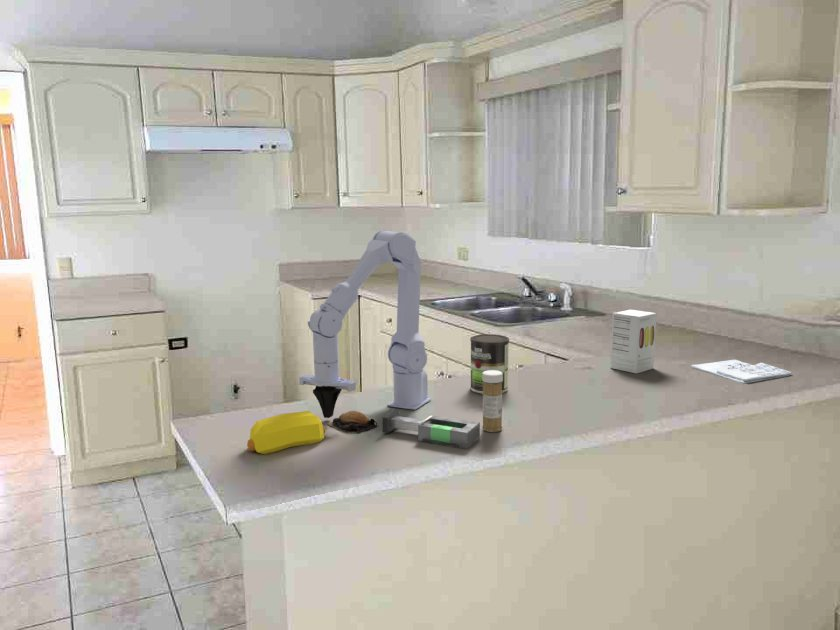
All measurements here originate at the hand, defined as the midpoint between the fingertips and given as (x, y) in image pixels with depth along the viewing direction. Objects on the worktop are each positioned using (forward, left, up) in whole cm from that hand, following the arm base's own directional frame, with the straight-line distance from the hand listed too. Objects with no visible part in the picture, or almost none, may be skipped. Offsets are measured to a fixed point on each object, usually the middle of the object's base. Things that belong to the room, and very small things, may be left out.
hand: (328, 416), depth 173 cm
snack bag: (-86, +85, -2) cm, 121 cm away
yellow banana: (+17, 0, -1) cm, 17 cm away
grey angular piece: (0, +21, -1) cm, 21 cm away
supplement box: (-77, +56, -1) cm, 95 cm away
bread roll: (+1, +7, -2) cm, 7 cm away
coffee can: (-40, +25, -1) cm, 47 cm away
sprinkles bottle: (-10, +37, -1) cm, 39 cm away
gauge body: (0, +31, -1) cm, 31 cm away
